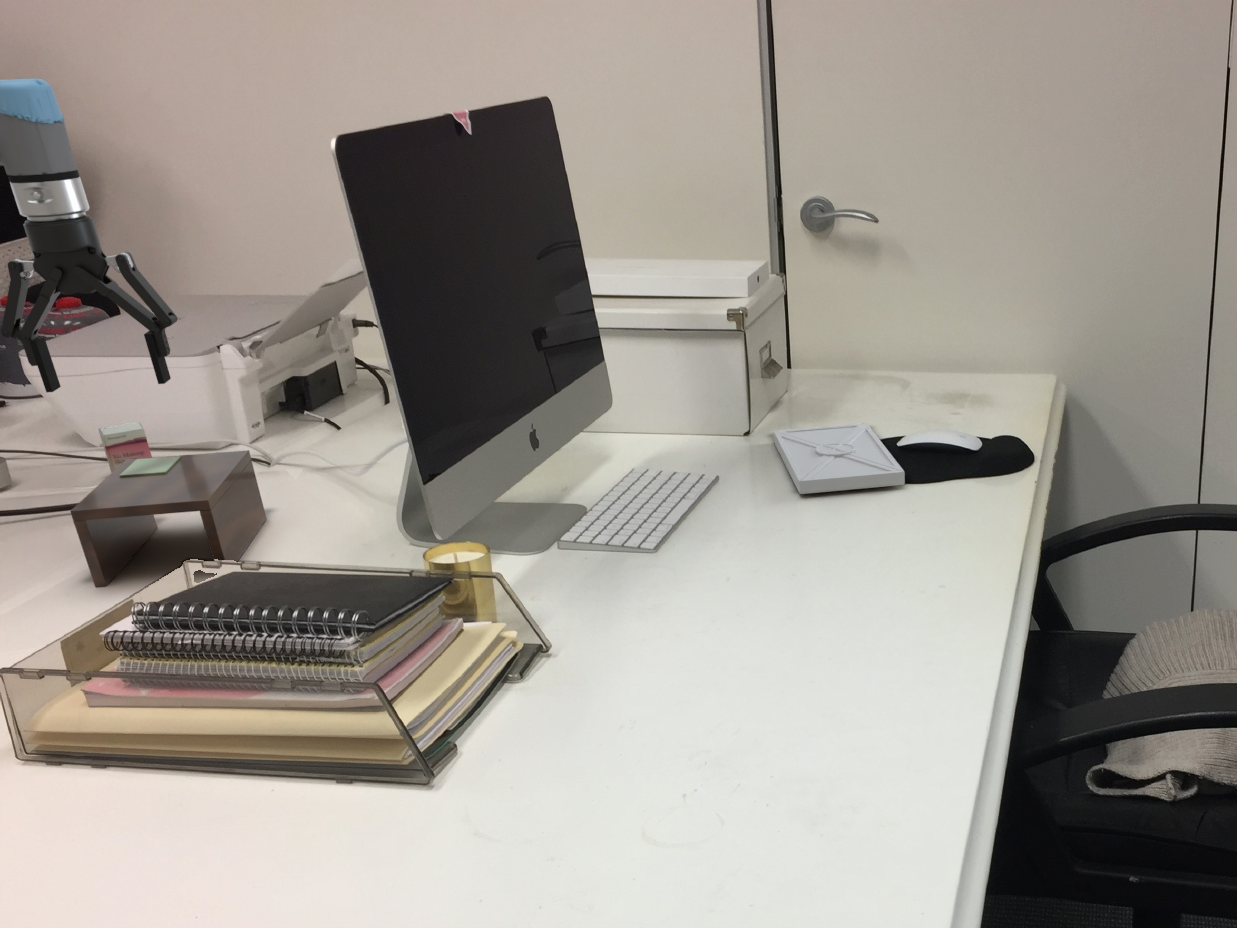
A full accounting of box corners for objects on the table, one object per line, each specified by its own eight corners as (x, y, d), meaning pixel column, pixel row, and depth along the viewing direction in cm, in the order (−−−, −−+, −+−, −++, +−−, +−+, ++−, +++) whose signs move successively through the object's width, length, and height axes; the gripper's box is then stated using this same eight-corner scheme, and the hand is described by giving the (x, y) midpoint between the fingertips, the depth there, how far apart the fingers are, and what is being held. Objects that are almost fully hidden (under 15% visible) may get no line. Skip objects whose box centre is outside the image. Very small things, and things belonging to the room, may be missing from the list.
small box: (119, 491, 166) (101, 434, 162) (114, 483, 169) (96, 427, 165) (160, 483, 168) (144, 427, 165) (155, 475, 171) (138, 420, 168)
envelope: (867, 436, 181) (774, 444, 178) (866, 421, 180) (773, 429, 177) (904, 486, 159) (799, 496, 157) (904, 469, 158) (799, 479, 156)
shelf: (95, 587, 137) (69, 509, 133) (147, 529, 153) (125, 457, 149) (228, 575, 139) (207, 498, 135) (266, 519, 155) (248, 448, 151)
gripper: (-69, 226, 147) (-7, 400, 157) (154, 214, 151) (202, 385, 161) (-40, 218, 154) (18, 385, 164) (173, 206, 158) (217, 371, 167)
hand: (109, 385), depth 162 cm, fingers open, 13 cm apart
